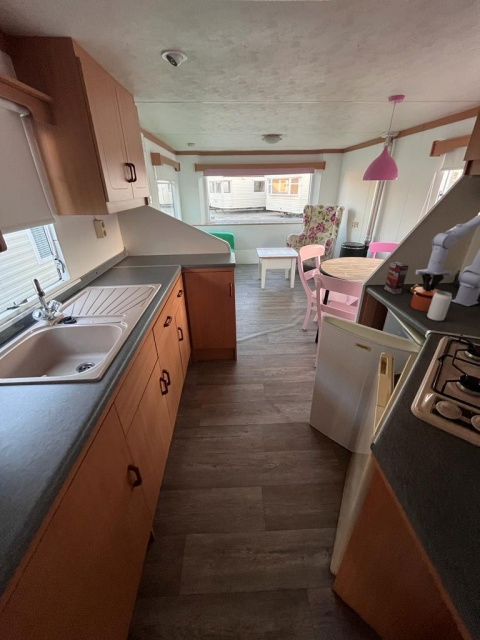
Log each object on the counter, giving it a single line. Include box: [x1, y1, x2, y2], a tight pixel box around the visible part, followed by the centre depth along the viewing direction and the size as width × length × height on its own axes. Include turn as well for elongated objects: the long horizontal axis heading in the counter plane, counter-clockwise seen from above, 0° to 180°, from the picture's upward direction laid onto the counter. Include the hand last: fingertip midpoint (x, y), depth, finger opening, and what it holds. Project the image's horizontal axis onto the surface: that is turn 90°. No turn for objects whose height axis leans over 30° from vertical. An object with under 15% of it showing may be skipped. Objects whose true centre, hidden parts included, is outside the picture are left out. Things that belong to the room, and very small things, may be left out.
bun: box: [409, 284, 421, 294], centre depth 148 cm, size 5×5×4 cm
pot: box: [410, 292, 433, 313], centre depth 129 cm, size 10×10×6 cm
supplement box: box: [383, 261, 409, 295], centre depth 147 cm, size 9×5×16 cm, turn 10°
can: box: [426, 290, 453, 322], centre depth 116 cm, size 6×6×12 cm
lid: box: [414, 282, 440, 296], centre depth 126 cm, size 11×11×5 cm
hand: (428, 289), depth 126 cm, fingers closed on lid, 2 cm apart
